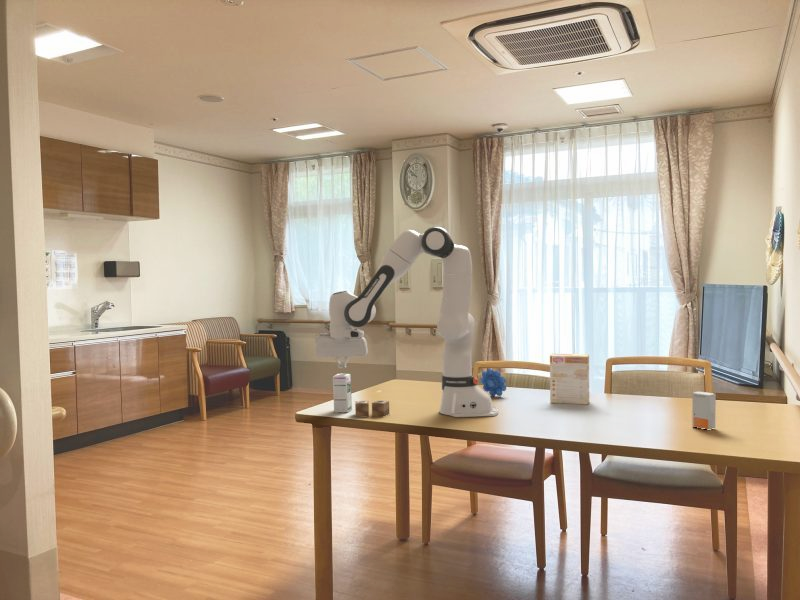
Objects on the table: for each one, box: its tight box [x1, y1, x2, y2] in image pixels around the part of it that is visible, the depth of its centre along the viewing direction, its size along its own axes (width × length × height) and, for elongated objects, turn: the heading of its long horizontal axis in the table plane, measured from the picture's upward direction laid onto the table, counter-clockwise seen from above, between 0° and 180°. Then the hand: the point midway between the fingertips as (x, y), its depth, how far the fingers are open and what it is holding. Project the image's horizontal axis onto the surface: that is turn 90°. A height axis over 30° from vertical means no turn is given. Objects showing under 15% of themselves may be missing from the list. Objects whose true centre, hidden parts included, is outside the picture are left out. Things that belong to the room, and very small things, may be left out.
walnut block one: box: [354, 400, 370, 417], centre depth 247 cm, size 5×5×5 cm
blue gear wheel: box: [479, 368, 507, 397], centre depth 280 cm, size 12×7×12 cm, turn 64°
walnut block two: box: [371, 400, 390, 417], centre depth 247 cm, size 5×5×5 cm
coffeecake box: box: [549, 353, 590, 405], centre depth 265 cm, size 15×7×20 cm, turn 69°
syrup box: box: [332, 372, 353, 413], centre depth 255 cm, size 6×6×14 cm
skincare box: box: [691, 391, 717, 429], centre depth 218 cm, size 6×4×12 cm
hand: (342, 367), depth 254 cm, fingers closed
